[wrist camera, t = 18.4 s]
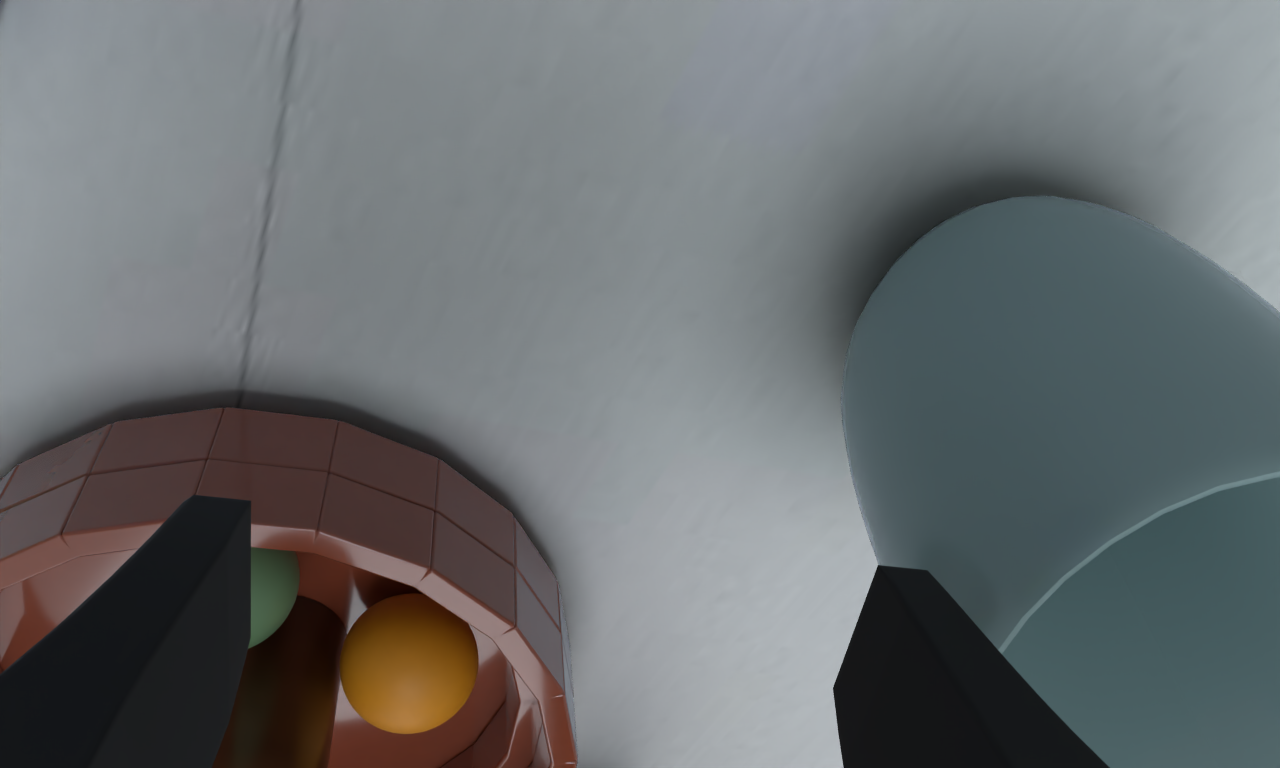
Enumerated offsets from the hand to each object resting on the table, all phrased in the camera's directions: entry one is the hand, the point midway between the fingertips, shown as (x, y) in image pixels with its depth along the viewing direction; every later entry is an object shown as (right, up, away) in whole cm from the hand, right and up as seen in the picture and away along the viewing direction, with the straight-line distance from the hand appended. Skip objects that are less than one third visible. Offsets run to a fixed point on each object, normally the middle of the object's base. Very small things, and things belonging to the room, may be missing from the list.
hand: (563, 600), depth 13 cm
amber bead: (-4, -4, +12) cm, 13 cm away
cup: (+8, +4, +11) cm, 14 cm away
